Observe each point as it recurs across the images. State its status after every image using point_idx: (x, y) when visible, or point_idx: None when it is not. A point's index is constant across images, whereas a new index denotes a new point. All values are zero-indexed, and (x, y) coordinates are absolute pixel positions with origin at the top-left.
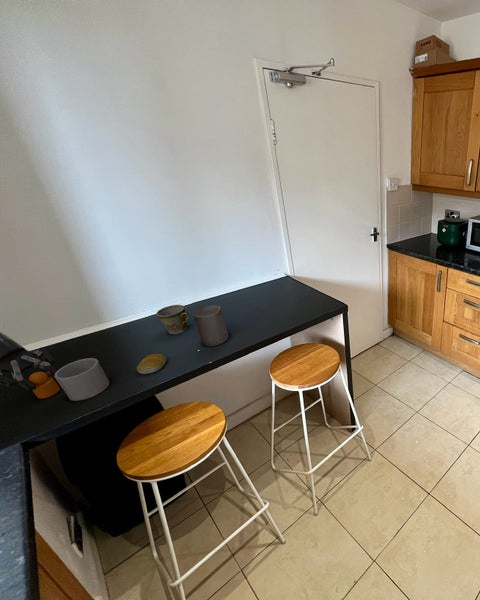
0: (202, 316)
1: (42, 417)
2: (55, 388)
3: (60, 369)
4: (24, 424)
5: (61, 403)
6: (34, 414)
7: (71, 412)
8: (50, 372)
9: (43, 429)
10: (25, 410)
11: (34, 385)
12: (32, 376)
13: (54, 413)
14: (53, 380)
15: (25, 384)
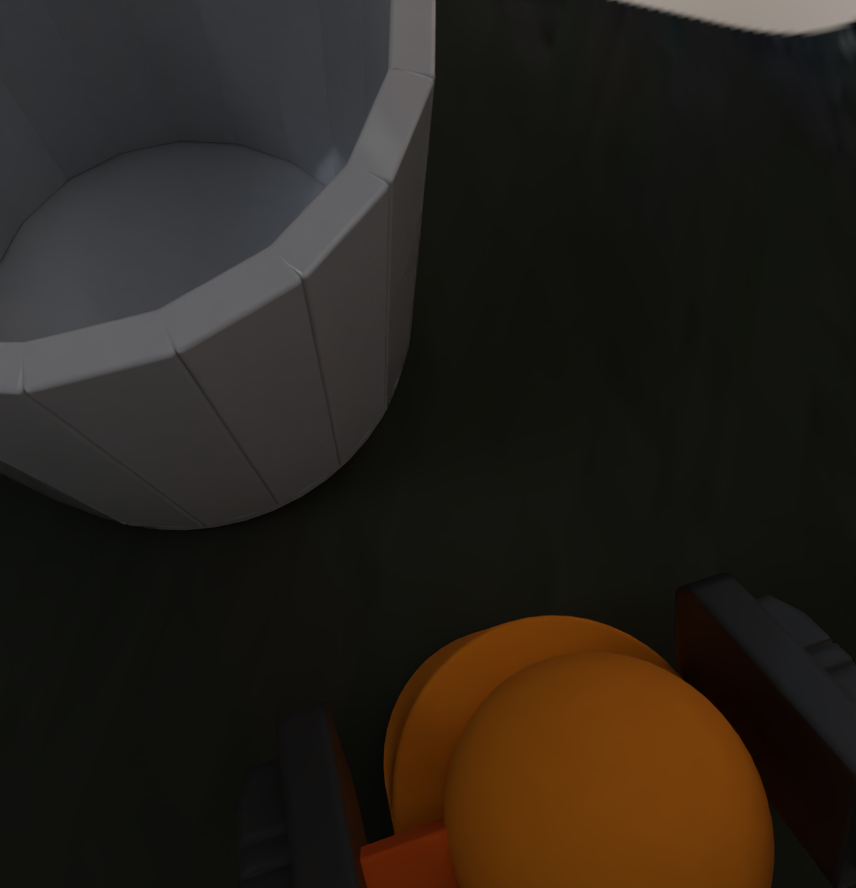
0: None
1: (682, 245)
2: (439, 653)
3: (233, 284)
4: (821, 286)
5: (491, 327)
6: (726, 381)
7: (483, 72)
8: (366, 847)
9: (713, 49)
10: (782, 573)
11: (699, 597)
12: (718, 770)
13: (589, 205)
14: (407, 710)
15: (840, 679)
